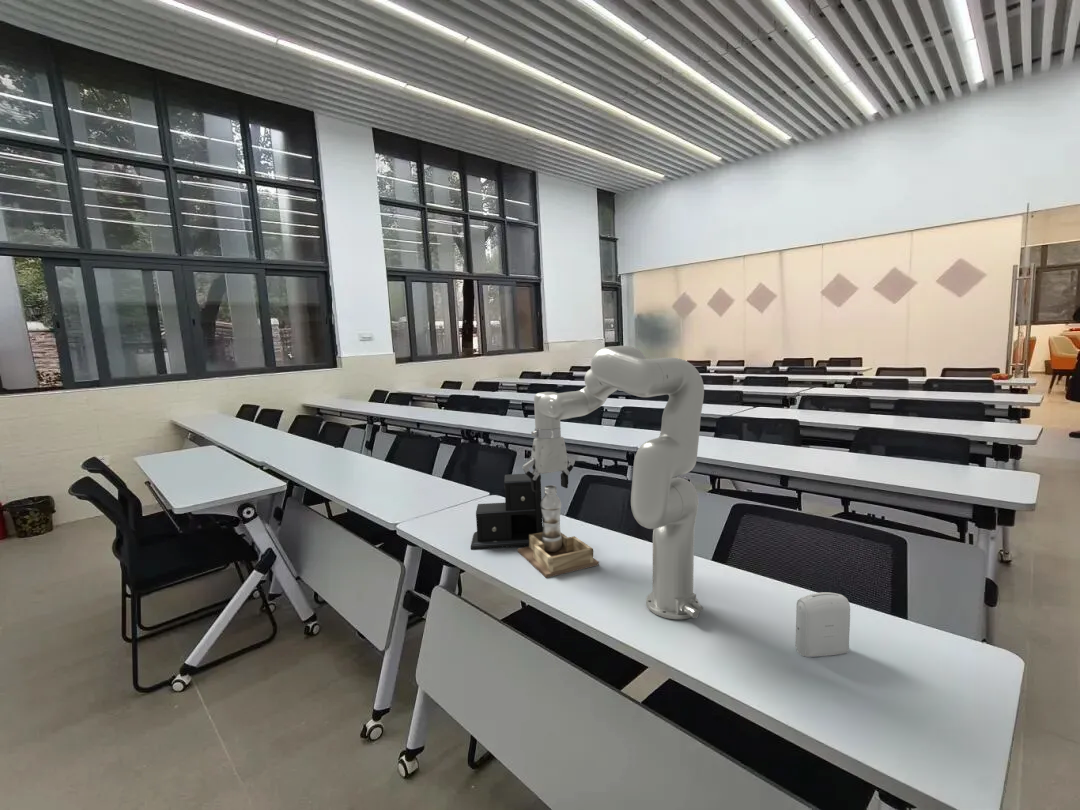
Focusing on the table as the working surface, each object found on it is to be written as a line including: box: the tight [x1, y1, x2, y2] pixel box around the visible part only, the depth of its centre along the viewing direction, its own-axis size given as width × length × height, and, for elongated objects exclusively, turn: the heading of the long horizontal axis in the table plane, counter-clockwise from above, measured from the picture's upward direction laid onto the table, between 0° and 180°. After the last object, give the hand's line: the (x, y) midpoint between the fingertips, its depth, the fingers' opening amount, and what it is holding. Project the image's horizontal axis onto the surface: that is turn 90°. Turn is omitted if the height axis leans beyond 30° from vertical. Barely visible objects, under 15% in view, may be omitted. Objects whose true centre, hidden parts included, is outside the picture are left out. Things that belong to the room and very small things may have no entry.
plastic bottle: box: [541, 484, 562, 552], centre depth 153 cm, size 6×7×20 cm
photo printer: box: [794, 591, 851, 658], centre depth 102 cm, size 10×4×12 cm, turn 96°
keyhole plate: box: [517, 532, 600, 579], centre depth 151 cm, size 20×17×5 cm
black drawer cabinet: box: [470, 473, 543, 550], centre depth 163 cm, size 23×11×24 cm, turn 93°
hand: (550, 489), depth 152 cm, fingers open, 9 cm apart
